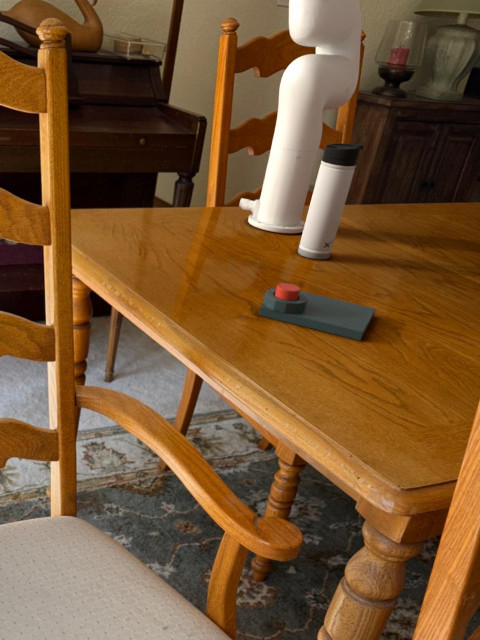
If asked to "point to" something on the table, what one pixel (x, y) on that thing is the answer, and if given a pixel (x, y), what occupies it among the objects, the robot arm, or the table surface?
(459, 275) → the table surface
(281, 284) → the button
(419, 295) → the table surface
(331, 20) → the robot arm
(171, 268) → the table surface
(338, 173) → the travel mug
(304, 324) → the grey kitchen scale
